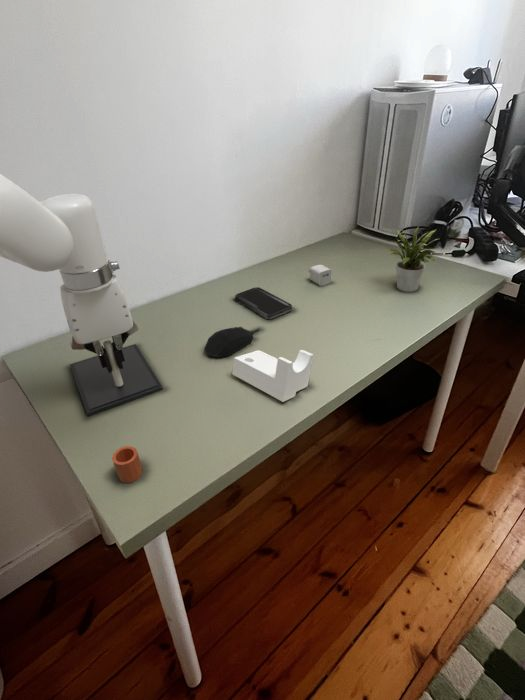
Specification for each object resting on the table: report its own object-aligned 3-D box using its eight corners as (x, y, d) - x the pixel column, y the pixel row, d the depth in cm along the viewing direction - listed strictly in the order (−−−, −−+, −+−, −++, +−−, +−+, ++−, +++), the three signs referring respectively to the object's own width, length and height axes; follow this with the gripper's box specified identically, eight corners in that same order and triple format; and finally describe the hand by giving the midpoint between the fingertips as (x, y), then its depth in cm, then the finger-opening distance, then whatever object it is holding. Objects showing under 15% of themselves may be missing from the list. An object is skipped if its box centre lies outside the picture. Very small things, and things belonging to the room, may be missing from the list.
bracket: (306, 391, 82) (313, 354, 79) (282, 401, 77) (289, 363, 74) (256, 365, 89) (261, 331, 86) (232, 374, 84) (236, 338, 81)
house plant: (373, 298, 110) (380, 235, 101) (375, 275, 121) (381, 217, 112) (433, 301, 107) (445, 237, 98) (429, 278, 118) (440, 218, 109)
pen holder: (122, 486, 64) (115, 468, 62) (115, 470, 67) (109, 452, 64) (145, 476, 65) (140, 458, 63) (138, 460, 68) (133, 442, 66)
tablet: (88, 416, 77) (86, 412, 77) (70, 367, 91) (69, 363, 90) (163, 389, 83) (162, 385, 82) (136, 346, 96) (135, 343, 96)
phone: (257, 286, 116) (293, 305, 106) (257, 290, 117) (293, 309, 106) (233, 295, 112) (268, 316, 102) (233, 299, 113) (268, 320, 103)
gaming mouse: (268, 334, 98) (267, 319, 95) (217, 362, 89) (215, 346, 87) (249, 325, 101) (248, 310, 99) (199, 351, 93) (196, 335, 91)
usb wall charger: (319, 286, 117) (319, 272, 115) (304, 277, 122) (304, 264, 120) (331, 282, 119) (331, 268, 116) (316, 274, 124) (316, 260, 122)
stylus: (117, 389, 82) (104, 345, 77) (115, 385, 83) (102, 341, 78) (124, 386, 83) (111, 342, 77) (122, 383, 84) (110, 339, 78)
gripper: (128, 257, 76) (148, 345, 86) (33, 279, 70) (67, 370, 80) (140, 271, 70) (161, 363, 81) (38, 296, 64) (74, 392, 75)
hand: (114, 366), depth 80 cm, fingers closed on stylus, 1 cm apart
